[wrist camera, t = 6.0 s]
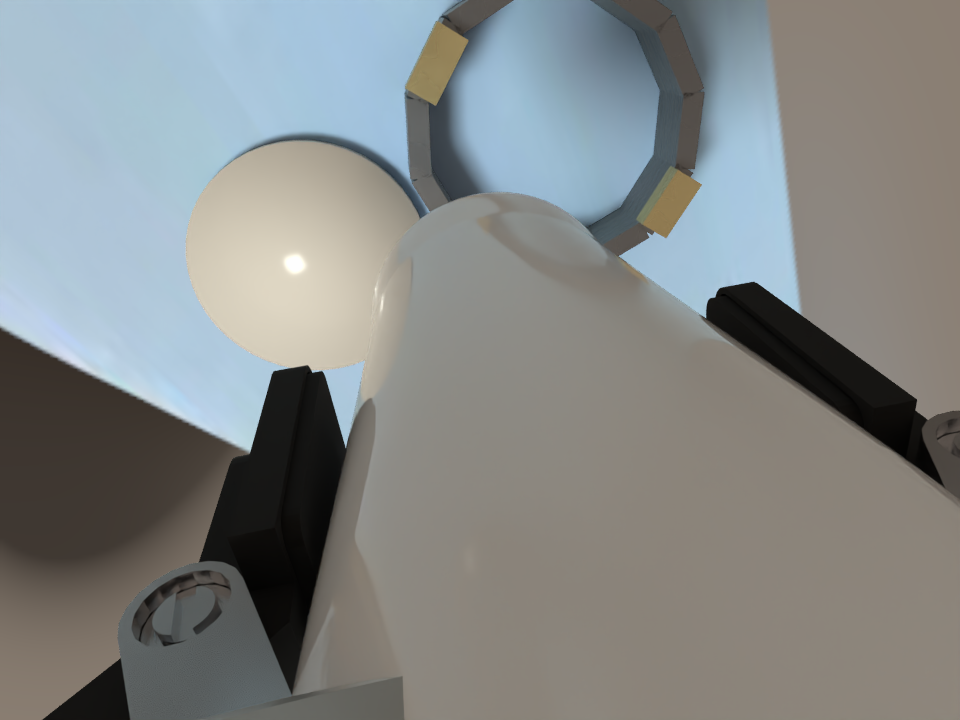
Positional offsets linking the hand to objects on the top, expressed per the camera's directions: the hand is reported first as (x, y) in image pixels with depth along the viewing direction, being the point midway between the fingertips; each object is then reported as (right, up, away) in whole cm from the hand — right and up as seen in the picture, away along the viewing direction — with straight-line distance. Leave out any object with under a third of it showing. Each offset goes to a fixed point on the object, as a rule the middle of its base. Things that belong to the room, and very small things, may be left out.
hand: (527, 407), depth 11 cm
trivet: (-8, +5, +18) cm, 20 cm away
